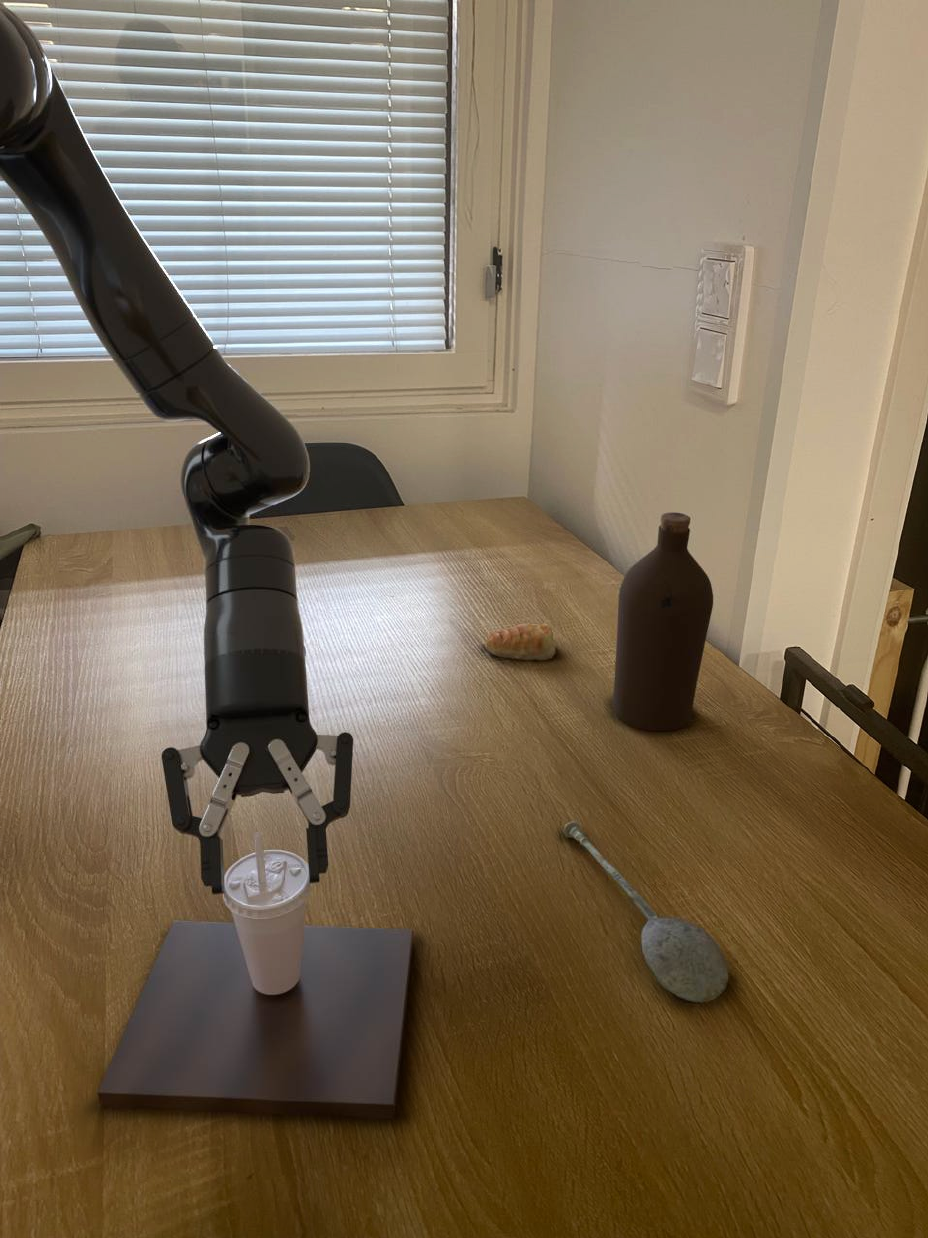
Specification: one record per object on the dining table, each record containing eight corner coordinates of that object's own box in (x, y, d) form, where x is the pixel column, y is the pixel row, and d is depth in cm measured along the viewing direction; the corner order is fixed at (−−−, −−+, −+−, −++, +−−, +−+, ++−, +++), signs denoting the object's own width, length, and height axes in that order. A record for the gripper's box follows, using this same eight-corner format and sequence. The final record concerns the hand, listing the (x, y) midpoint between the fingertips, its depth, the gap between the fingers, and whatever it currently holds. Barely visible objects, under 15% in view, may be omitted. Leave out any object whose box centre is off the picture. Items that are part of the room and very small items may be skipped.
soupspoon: (672, 1021, 70) (740, 998, 73) (680, 989, 69) (749, 967, 71) (540, 841, 88) (599, 827, 90) (545, 813, 86) (604, 800, 89)
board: (100, 1108, 62) (97, 1093, 61) (174, 934, 76) (172, 920, 76) (394, 1120, 61) (393, 1105, 61) (413, 943, 76) (413, 929, 75)
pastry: (489, 664, 121) (490, 638, 119) (481, 641, 127) (482, 617, 125) (557, 660, 122) (559, 635, 121) (547, 639, 128) (548, 614, 127)
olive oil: (713, 727, 108) (745, 527, 97) (633, 742, 104) (657, 536, 94) (667, 685, 117) (691, 498, 106) (592, 697, 114) (610, 505, 103)
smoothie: (216, 993, 68) (196, 845, 62) (263, 934, 74) (249, 793, 68) (290, 1021, 66) (276, 870, 60) (333, 958, 72) (325, 814, 65)
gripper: (148, 652, 64) (151, 897, 59) (351, 638, 67) (372, 872, 62) (164, 681, 71) (168, 903, 66) (348, 667, 74) (366, 879, 69)
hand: (267, 887), depth 64 cm, fingers closed on smoothie, 6 cm apart
